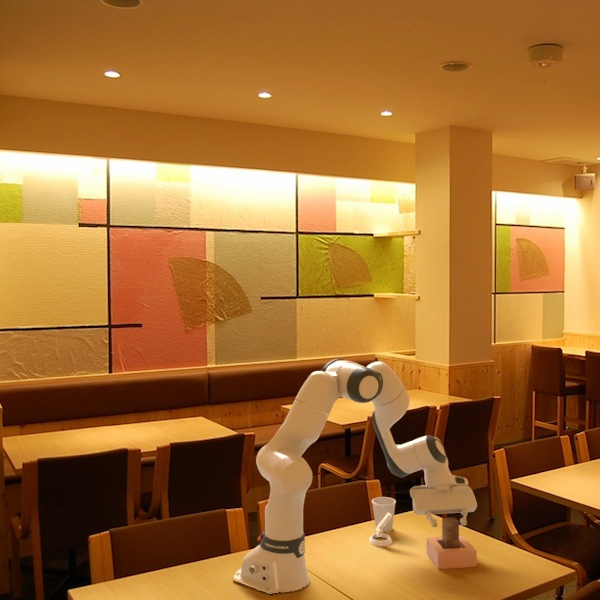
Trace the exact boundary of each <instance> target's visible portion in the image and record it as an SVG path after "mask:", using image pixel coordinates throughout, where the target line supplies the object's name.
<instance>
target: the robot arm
mask: <svg viewBox="0 0 600 600" xmlns="http://www.w3.org/2000/svg"><path fill="white" fill-rule="evenodd" d="M340 398H343V399H346V400H350V401H353V402H355V403H357V404H366V403H369V402H372V404H373V406H374V410H373V411H372V414H371V415H372V417H371V418H372V420H371V421H372V425H373V428H374V431H375V433H376V436H377V439H378V441H379V444H380V447H381V449H382V451H383V454H384V457H385V460H386V465H387V467H388V469H389V471H390V473H391V474H392V475H393V476H397V477H399V478H404V477H406V476H409V475H412V474H413V473H415V472H419V471H421V470H423V472H424V482H425V485H413V487H410V489H409V495H410V497H411V499H412V510H413V513H414V514H415V515H416V516H419V515H422V516H423V515H425V518H426V519H427V520H428V521H429V523H430V525H431V528H437V527H438V522H437V519H434V517H433V516H432V515H440V514H442V515H443V514H456V513H459V514H461V516H463V517H461V518H460V519H459V524H460V526H467V524H468V522H467V516H468V513H474V512H475V511H476V509H477V507H478V503H477V499H476V497H475V493H474V491H473V489H472V488H471V487H470V486H469V481H468V479H467V478H465V477H461V476H457V475H454V474H452V472H451V470H450V468H449V459H448V457H447V453H446V450H445V447H444V444H443V443H442V441H441V439H439V438H438V437H435V436H433V435H429V434H427V435H424V436H420V437H417V438H415V439H413V440H411V441H407V442H405V443H404V442H403V443H402V444H396V443H395V440H394V438H393V435H392V432H391V430H390V429H391V428H392V426H393V425H394V424H396V423H397V422H398V421H399V420H400V419H402V417H403V416H404V415H405V414H406V412H407V411H408V409H409V407H410V396H409V393H408V390H407V388H406V387H405V385H404V383H403V382H402V380H401V379H400V377H399V376H398V375H397V373H396V372H395V371H394V370H393V369H392V368H391V367H390V366H389V364H387V363H386V362H385V361H378V360H377V361H373V362H371V363H369V364H367V366H364V365H362V364H359V363H358V362H355V361H351V360H347V359H343V358H334V359H332V360H330V361H328V362H327V363H326V364H325V365H324V366H323V367H322V368H321V369H320V370H316V371H312V372H311V373H310V375H308V376H307V379H306V380H305V381H304V382H303V384H302V386H301V387H300V389H299V391H298V393H297V395H296V396H295V399H294V401H293V402H292V405H291V407H290V409H289V410H288V413H287V415H286V416H285V419H284V421H283V422H282V425H281V426H280V427H279V428H278V430H277V431H276V433H275V434H274V435H273V437H272V438H271V439H270V441H269V442H268V443H266V444H265V445H264V446H262V447H261V448H260V449H259V451H258V452H257V454H256V457H255V461H256V462H255V463H256V466H257V470H258V471H259V473H260V474H261V476H262V477H263V478H264V479H265V480H266V481H268V482H269V487H270V491H269V492H270V493H269V497H268V501H267V504H266V505H265V508H264V524H265V525H264V526H265V527H264V528H265V529H264V531H263V532H262V533H261V534H260V535H259V536H257V537H256V538H257V542H259V541H260V543H259V544H258V545H256V547H254V548H253V549H252V550H251V551H249V552H248V553H247V554H246V555H245V556H244V557H243V559H242V562H241V567H240V568H239V569H238V570H237V571H236V572H235V573H234V574H233V579H236V580H238V581H240V582H243V583H246V584H248V585H250V586H253V587H255V588H257V589H259V590H262V591H264V592H266V593H270V594H272V593H277V594H279V593H278V592H281V593H291V592H296V591H298V590H301V589H304V588H306V587H307V586H308V585H309V583H310V577H309V573H308V570H307V564H306V559H305V558H306V556H305V552H306V533H305V532H304V505H305V500H306V499H305V498H306V493H307V490H308V489H309V488H310V487H311V485H312V482H313V471H312V469H311V467H310V465H309V464H308V462H307V460H306V459H305V458H304V457H302V455H304V453H305V452H306V450H307V449H308V448H309V447H310V446H311V445H312V444H314V443H315V442H316V441H318V439H319V438H320V436H321V433H322V431H323V429H324V427H325V425H326V422H327V420H328V418H329V416H330V414H331V412H332V409H333V407H334V404H335V403H336V402H337V400H338V399H340ZM237 574H239V575H237ZM303 587H304V588H303ZM290 591H291V592H290ZM266 593H265V594H266Z"/></svg>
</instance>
